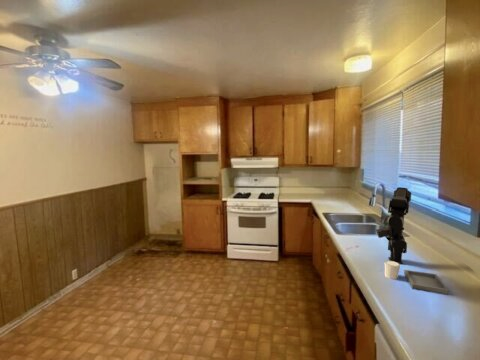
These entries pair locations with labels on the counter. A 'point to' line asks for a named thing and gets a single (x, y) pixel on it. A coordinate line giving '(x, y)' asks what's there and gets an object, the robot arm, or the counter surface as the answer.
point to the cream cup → (391, 269)
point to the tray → (425, 282)
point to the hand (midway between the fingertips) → (393, 254)
